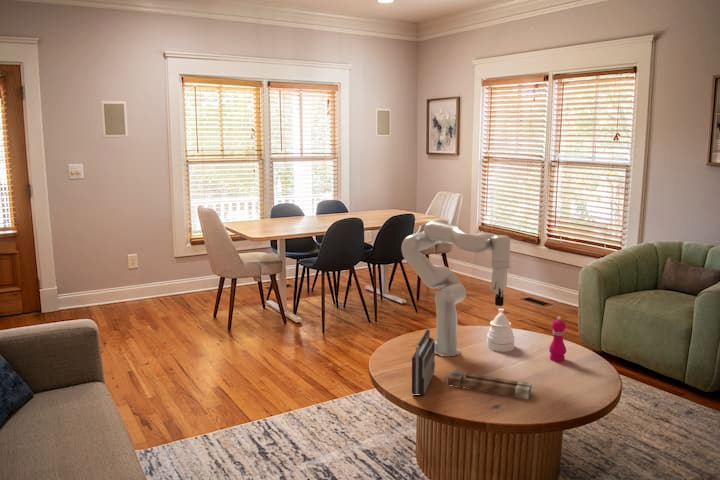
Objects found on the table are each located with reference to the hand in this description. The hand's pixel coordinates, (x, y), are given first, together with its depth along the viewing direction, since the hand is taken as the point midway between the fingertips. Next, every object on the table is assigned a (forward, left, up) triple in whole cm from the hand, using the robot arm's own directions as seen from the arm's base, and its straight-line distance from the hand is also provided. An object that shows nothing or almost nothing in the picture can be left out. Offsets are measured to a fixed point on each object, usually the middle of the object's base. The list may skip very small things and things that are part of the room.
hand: (499, 305), depth 262 cm
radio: (-22, -33, -27) cm, 48 cm away
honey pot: (-4, +23, -27) cm, 36 cm away
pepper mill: (+23, +17, -27) cm, 40 cm away
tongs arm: (+6, -25, -27) cm, 37 cm away
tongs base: (+3, -27, -27) cm, 38 cm away
